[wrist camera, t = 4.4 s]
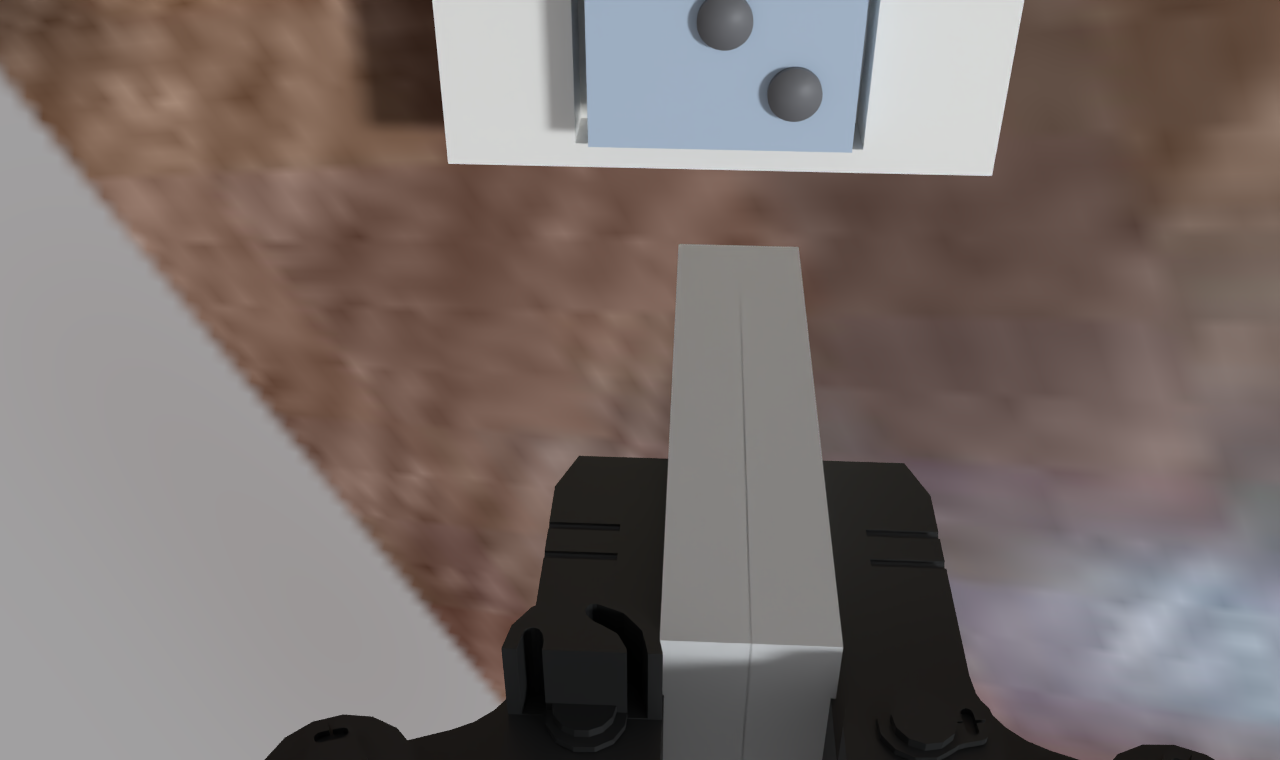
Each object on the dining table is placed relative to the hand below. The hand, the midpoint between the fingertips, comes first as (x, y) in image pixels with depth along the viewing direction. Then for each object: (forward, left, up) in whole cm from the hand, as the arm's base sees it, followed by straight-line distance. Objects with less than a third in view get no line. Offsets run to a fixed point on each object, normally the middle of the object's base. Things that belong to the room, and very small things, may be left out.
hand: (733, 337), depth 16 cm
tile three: (0, 0, -15) cm, 15 cm away
